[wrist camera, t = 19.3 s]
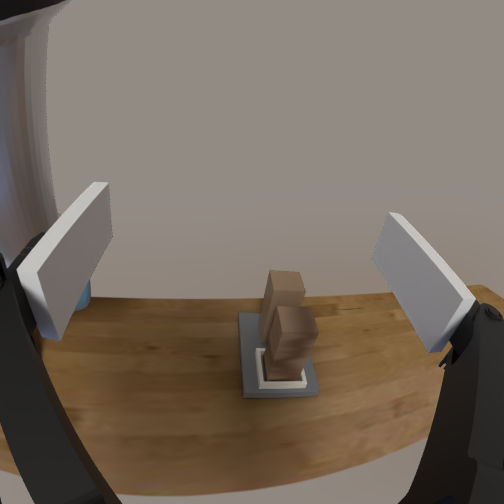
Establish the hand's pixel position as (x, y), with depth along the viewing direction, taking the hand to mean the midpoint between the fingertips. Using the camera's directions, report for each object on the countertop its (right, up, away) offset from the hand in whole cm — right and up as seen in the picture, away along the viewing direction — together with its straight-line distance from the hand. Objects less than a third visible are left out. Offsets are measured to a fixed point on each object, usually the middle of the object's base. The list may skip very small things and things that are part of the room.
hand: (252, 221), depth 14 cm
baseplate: (+4, -19, +39) cm, 43 cm away
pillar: (+4, -20, +34) cm, 40 cm away
